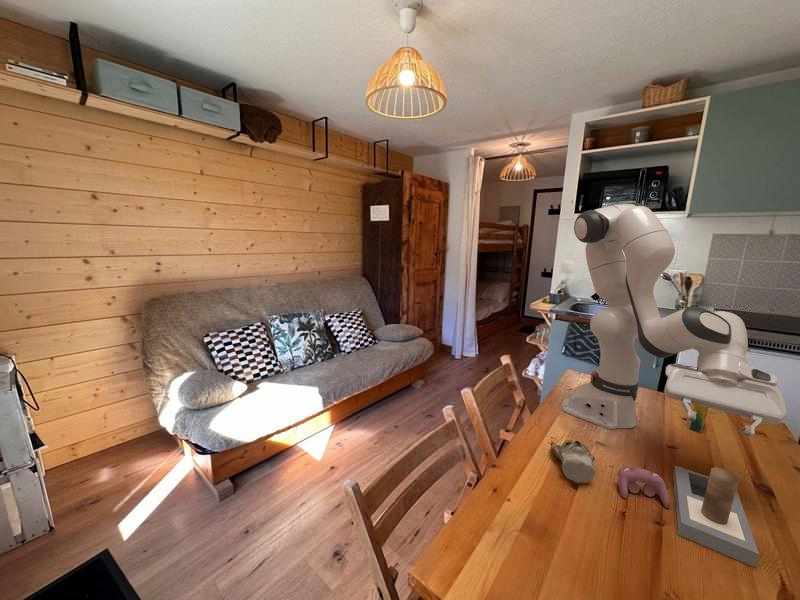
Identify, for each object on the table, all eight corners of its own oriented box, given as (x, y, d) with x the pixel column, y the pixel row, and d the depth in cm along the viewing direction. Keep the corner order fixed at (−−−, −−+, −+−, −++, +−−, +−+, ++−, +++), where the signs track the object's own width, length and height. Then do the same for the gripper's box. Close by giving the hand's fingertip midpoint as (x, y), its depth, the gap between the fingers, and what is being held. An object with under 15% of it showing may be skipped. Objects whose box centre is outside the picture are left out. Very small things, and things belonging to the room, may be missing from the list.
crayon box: (700, 433, 104) (707, 399, 102) (688, 429, 106) (695, 395, 104) (705, 425, 109) (711, 392, 107) (693, 421, 111) (699, 389, 109)
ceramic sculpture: (558, 451, 80) (551, 422, 94) (554, 483, 81) (548, 451, 95) (608, 461, 76) (593, 430, 90) (604, 495, 77) (589, 459, 91)
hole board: (678, 535, 67) (681, 521, 67) (673, 475, 84) (675, 464, 84) (755, 567, 61) (759, 553, 60) (732, 496, 78) (735, 484, 77)
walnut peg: (702, 517, 68) (712, 475, 66) (699, 505, 71) (709, 464, 69) (729, 528, 65) (740, 484, 63) (725, 515, 68) (736, 473, 67)
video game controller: (663, 504, 77) (661, 471, 79) (672, 509, 73) (670, 475, 75) (615, 493, 80) (614, 462, 82) (621, 498, 76) (621, 465, 78)
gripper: (668, 355, 83) (662, 406, 77) (788, 379, 71) (791, 440, 65) (664, 367, 88) (658, 415, 82) (776, 390, 76) (778, 449, 70)
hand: (718, 426), depth 74 cm, fingers open, 8 cm apart
